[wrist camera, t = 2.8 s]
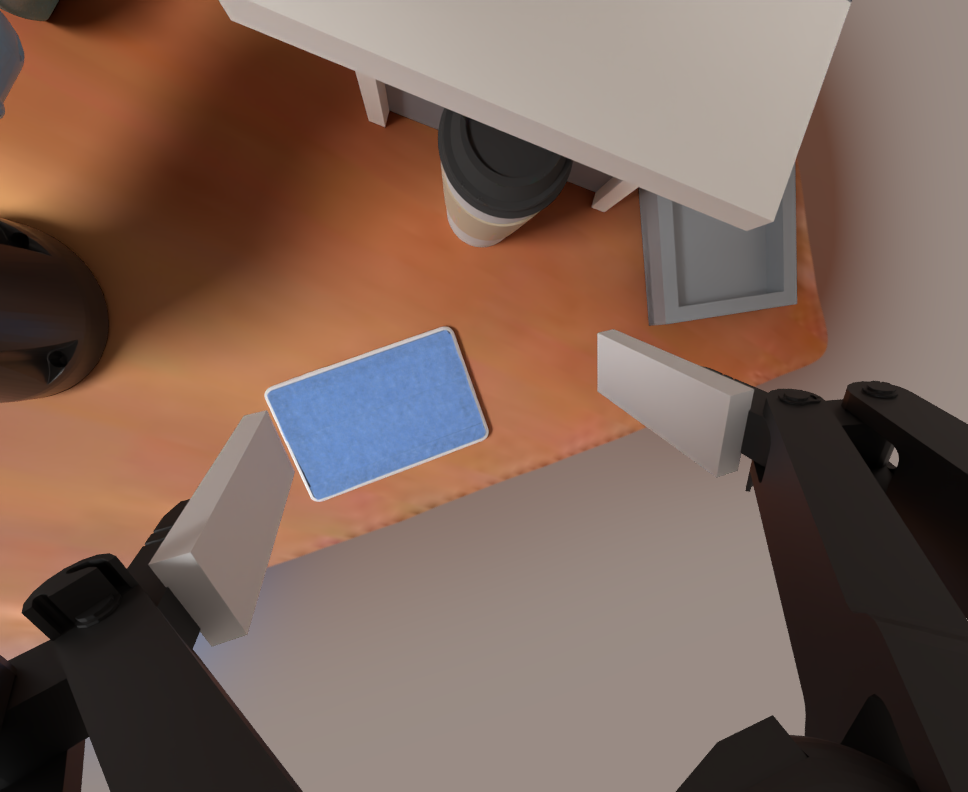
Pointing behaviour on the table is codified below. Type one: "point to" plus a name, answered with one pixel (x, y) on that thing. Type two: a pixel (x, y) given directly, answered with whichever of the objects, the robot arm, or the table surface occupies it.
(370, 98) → the cubby
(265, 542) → the robot arm
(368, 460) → the blue piece
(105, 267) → the table surface
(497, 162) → the coffee cup
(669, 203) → the tray
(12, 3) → the flower pot
